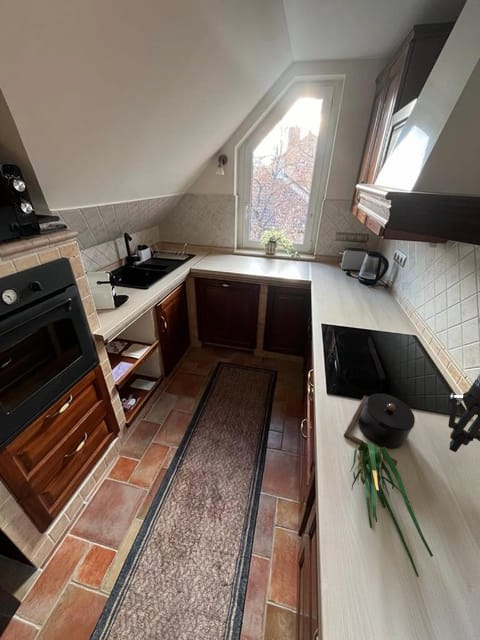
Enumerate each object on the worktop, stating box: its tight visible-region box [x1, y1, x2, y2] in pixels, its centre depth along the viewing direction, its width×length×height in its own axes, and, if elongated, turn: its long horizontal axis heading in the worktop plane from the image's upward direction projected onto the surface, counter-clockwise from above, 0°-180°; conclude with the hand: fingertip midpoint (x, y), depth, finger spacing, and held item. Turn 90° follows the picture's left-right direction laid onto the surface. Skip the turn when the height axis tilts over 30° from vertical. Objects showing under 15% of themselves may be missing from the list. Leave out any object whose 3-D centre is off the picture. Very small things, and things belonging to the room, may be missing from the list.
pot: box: [357, 393, 416, 450], centre depth 82 cm, size 14×16×12 cm
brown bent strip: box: [343, 395, 398, 466], centre depth 85 cm, size 15×22×1 cm
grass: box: [349, 439, 434, 578], centre depth 62 cm, size 18×15×25 cm
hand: (452, 447), depth 72 cm, fingers closed
